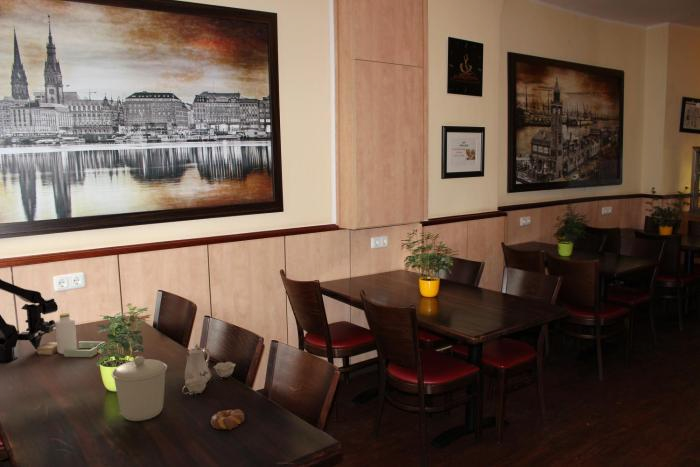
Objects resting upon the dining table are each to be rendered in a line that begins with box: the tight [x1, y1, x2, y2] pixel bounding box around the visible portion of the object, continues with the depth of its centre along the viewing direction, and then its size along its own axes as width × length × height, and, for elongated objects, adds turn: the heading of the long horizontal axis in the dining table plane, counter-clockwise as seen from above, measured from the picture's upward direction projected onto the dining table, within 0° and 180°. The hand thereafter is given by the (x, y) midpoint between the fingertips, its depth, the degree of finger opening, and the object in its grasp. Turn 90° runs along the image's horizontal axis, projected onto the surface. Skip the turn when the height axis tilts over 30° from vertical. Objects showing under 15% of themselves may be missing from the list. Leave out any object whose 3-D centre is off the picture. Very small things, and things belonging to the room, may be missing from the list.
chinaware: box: [181, 343, 237, 395], centre depth 224 cm, size 28×17×17 cm, turn 161°
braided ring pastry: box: [210, 408, 245, 430], centre depth 191 cm, size 12×11×4 cm
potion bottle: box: [54, 313, 78, 355], centre depth 266 cm, size 8×8×18 cm
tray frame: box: [63, 340, 106, 358], centre depth 266 cm, size 13×13×3 cm
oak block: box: [36, 341, 58, 356], centre depth 268 cm, size 8×7×4 cm
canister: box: [111, 355, 168, 422], centre depth 197 cm, size 18×18×21 cm
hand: (37, 349), depth 268 cm, fingers closed
